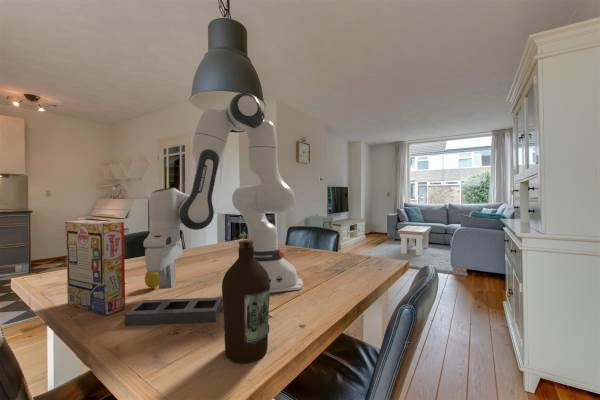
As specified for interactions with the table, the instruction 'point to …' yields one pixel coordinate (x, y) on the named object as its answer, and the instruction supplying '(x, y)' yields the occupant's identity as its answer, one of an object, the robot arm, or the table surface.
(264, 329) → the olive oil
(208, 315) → the grey compartment tray
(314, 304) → the table surface
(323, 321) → the table surface
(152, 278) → the lemon
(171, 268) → the steel peg
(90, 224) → the cereal box
